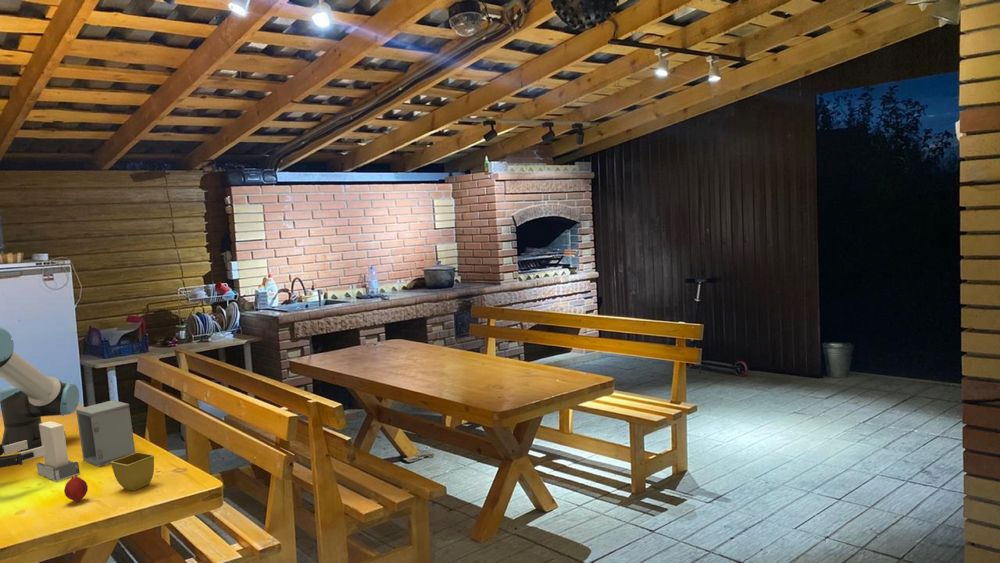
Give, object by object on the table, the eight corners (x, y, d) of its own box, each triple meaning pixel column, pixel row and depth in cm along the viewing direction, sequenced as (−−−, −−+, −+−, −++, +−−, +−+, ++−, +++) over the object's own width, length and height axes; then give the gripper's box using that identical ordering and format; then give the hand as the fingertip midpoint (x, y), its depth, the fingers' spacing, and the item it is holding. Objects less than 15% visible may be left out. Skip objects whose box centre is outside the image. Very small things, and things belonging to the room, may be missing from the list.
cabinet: (83, 461, 252) (75, 409, 250) (119, 450, 261) (112, 400, 259) (100, 467, 244) (92, 414, 242) (137, 456, 253) (130, 404, 251)
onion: (72, 498, 217) (68, 472, 216) (92, 496, 217) (89, 470, 217) (62, 506, 211) (58, 479, 210) (83, 504, 212) (79, 477, 211)
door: (45, 471, 242) (38, 424, 240) (58, 468, 245) (51, 420, 243) (58, 477, 236) (51, 428, 234) (71, 473, 239) (64, 424, 237)
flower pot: (131, 495, 216) (126, 465, 215) (113, 490, 221) (109, 461, 220) (158, 484, 224) (154, 455, 223) (141, 480, 228) (137, 451, 227)
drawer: (37, 473, 242) (36, 461, 242) (60, 466, 248) (58, 455, 247) (56, 481, 233) (54, 469, 233) (79, 474, 238) (78, 462, 238)
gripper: (-56, 474, 226) (21, 453, 243) (-28, 489, 211) (53, 465, 227) (-60, 450, 226) (18, 430, 242) (-32, 463, 210) (49, 441, 227)
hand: (35, 447), depth 235 cm, fingers open, 13 cm apart
